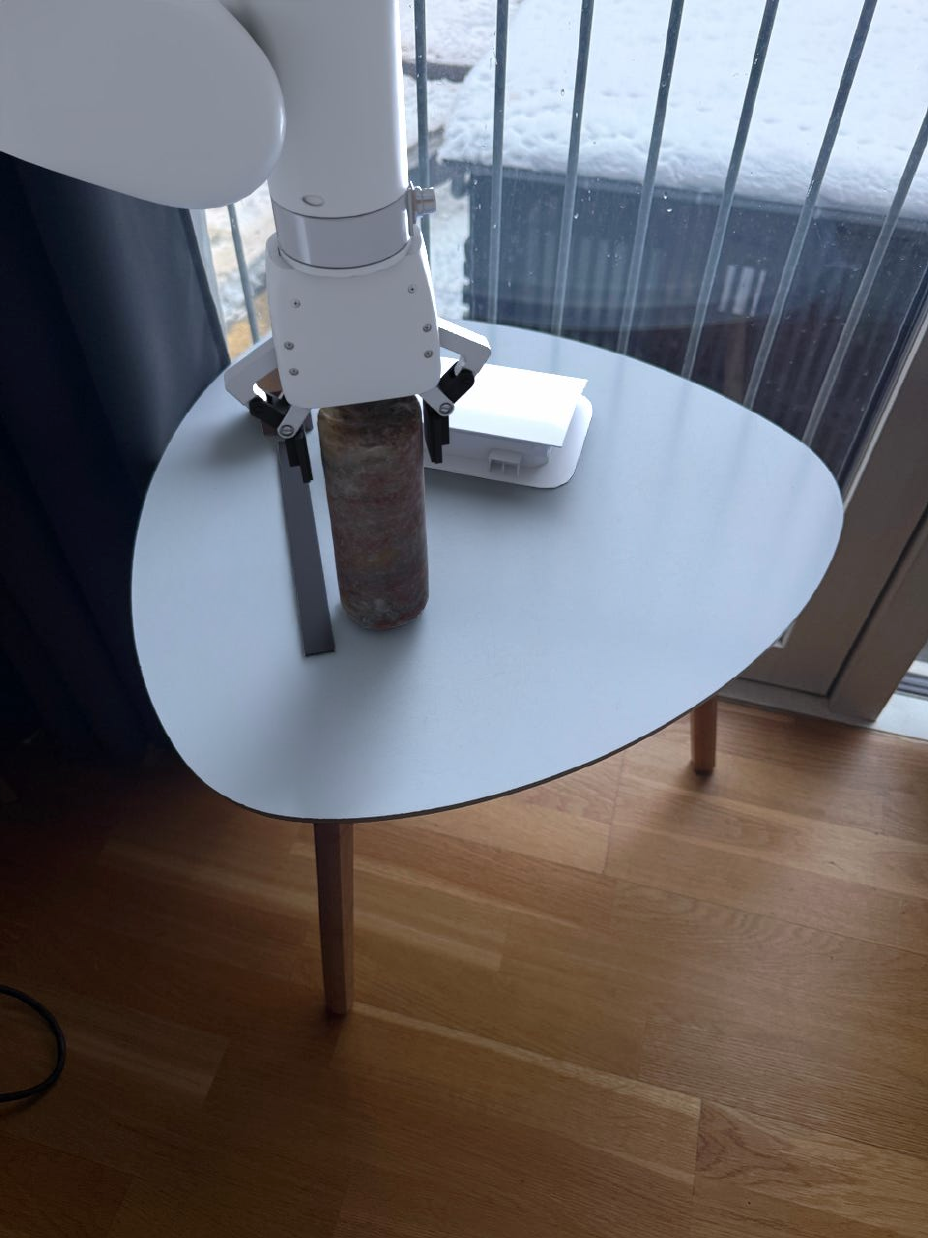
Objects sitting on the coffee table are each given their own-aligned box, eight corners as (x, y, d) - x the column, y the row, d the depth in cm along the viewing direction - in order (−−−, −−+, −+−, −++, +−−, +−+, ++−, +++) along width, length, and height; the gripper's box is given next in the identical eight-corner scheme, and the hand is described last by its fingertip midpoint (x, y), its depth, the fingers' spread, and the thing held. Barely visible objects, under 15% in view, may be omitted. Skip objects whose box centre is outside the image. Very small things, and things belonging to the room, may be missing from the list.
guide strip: (305, 656, 72) (304, 654, 72) (277, 443, 89) (277, 441, 89) (335, 651, 73) (334, 649, 72) (302, 440, 90) (301, 437, 89)
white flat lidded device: (568, 493, 84) (571, 460, 81) (335, 451, 88) (331, 418, 85) (597, 395, 94) (602, 363, 91) (386, 361, 98) (384, 329, 95)
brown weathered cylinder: (448, 614, 75) (442, 417, 60) (372, 654, 72) (345, 459, 57) (400, 559, 79) (382, 362, 64) (326, 595, 76) (289, 398, 61)
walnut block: (263, 436, 90) (254, 394, 86) (260, 405, 93) (250, 364, 89) (313, 429, 91) (306, 387, 87) (308, 399, 94) (301, 357, 90)
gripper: (480, 173, 54) (479, 411, 67) (183, 204, 52) (242, 444, 65) (510, 234, 49) (503, 477, 63) (185, 271, 47) (249, 515, 60)
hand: (370, 460), depth 64 cm, fingers open, 8 cm apart
